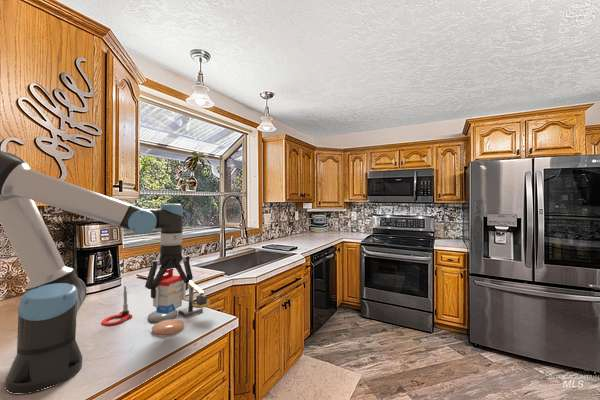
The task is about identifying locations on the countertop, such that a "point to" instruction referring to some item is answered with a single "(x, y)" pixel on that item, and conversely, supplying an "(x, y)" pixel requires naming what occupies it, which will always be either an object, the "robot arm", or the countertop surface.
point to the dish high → (161, 316)
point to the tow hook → (124, 313)
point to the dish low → (168, 327)
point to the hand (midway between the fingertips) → (169, 302)
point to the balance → (196, 306)
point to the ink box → (169, 293)
